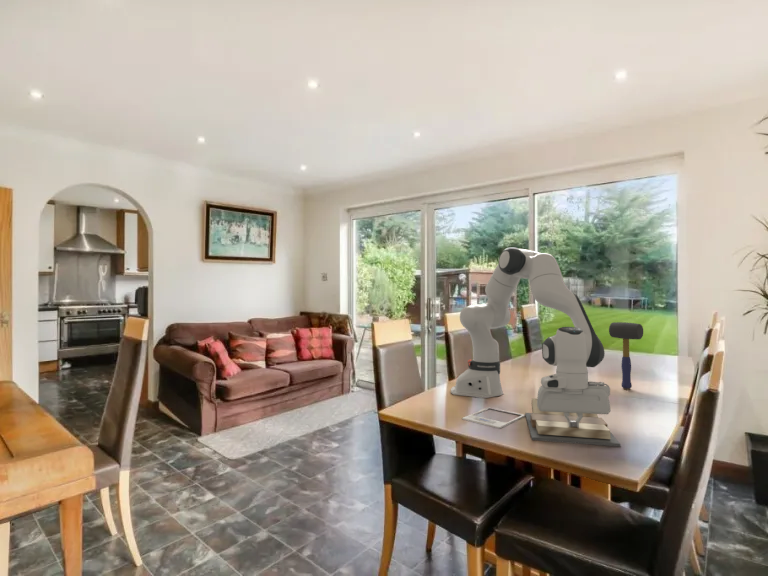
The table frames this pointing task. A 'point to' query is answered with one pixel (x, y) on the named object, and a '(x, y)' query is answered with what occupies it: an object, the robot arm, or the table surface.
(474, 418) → the photo frame
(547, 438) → the underlay mat
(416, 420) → the table surface
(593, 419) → the striped wooden plank
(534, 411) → the ash plank far
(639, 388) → the table surface
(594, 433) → the ash plank near
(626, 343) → the rubber mallet
